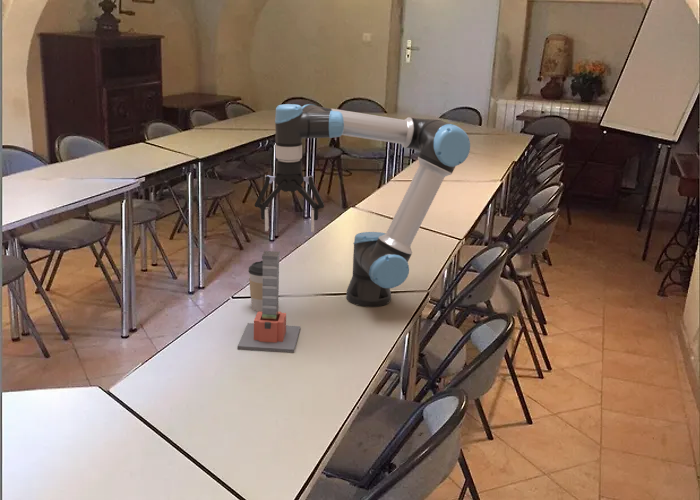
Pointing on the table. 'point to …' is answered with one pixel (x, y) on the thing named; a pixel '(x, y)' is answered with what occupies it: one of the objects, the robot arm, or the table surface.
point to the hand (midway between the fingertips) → (289, 230)
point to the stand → (269, 335)
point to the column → (270, 284)
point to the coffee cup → (256, 285)
